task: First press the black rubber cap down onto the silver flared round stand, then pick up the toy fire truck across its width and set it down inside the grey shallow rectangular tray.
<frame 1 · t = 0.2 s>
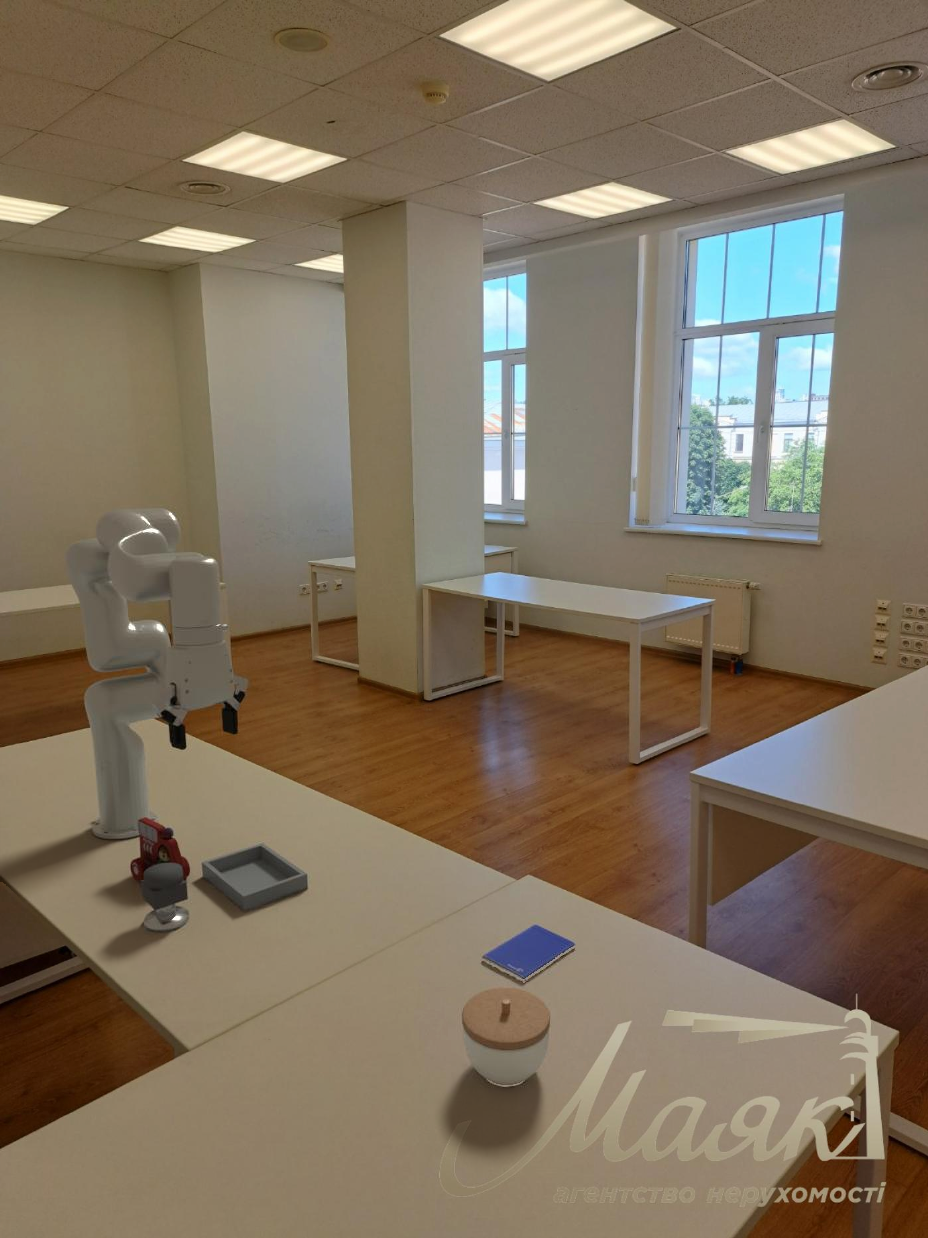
hand: (205, 740, 137), 30 cm above the table, tool pointing down, fingers open, 9 cm apart
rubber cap: (164, 884, 139), point 6 cm above the table, slide at 0.0 cm
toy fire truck: (161, 880, 155), on the table
silver flared round stand: (166, 921, 140), on the table
hard drive: (529, 959, 130), on the table
lidded jar: (505, 1071, 105), on the table
grey shallow rectangular tray: (254, 882, 153), on the table
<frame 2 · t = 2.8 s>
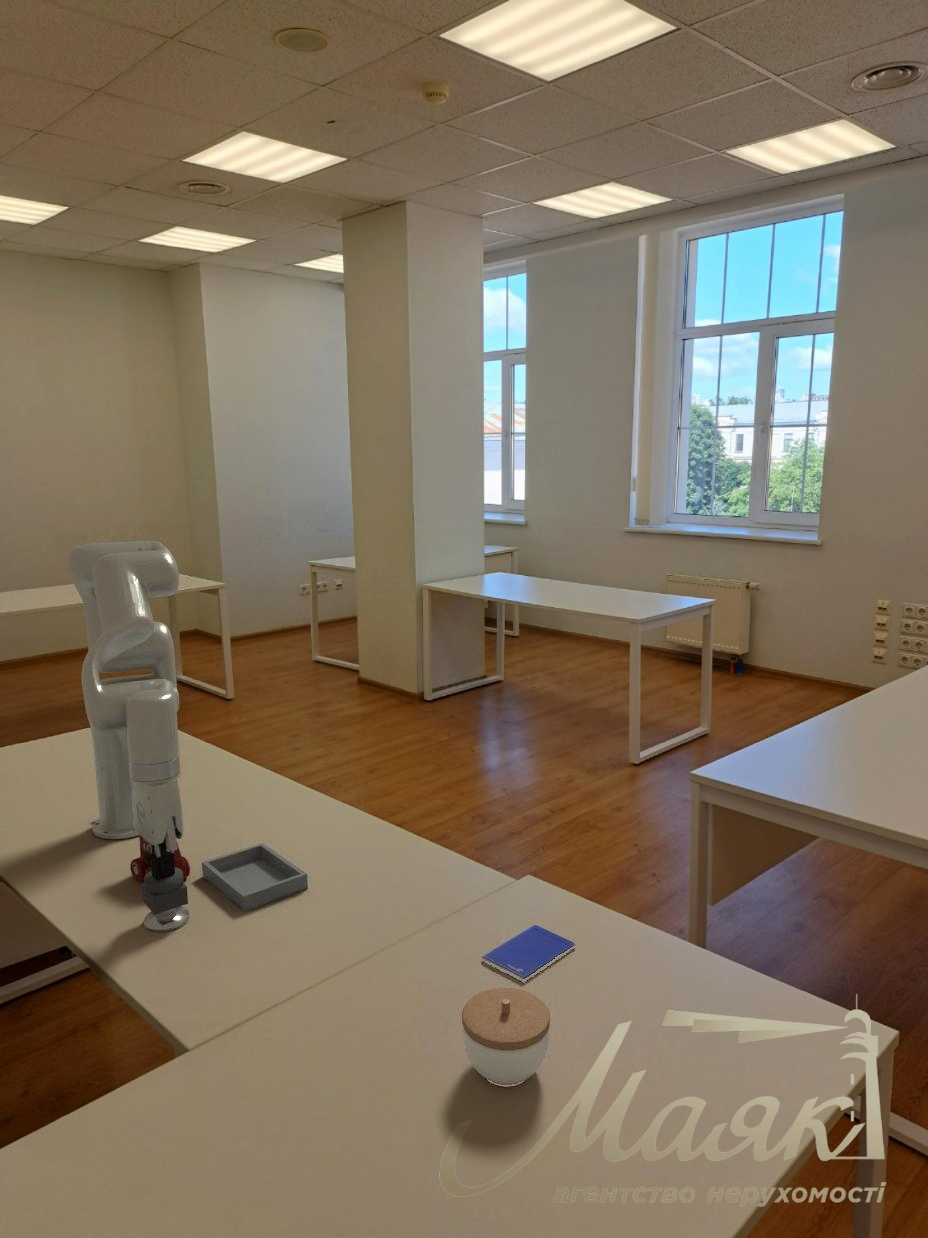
hand: (163, 875, 139), 8 cm above the table, tool pointing down, fingers closed
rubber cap: (164, 889, 139), point 6 cm above the table, slide at 0.8 cm, touching gripper
everything else where it was.
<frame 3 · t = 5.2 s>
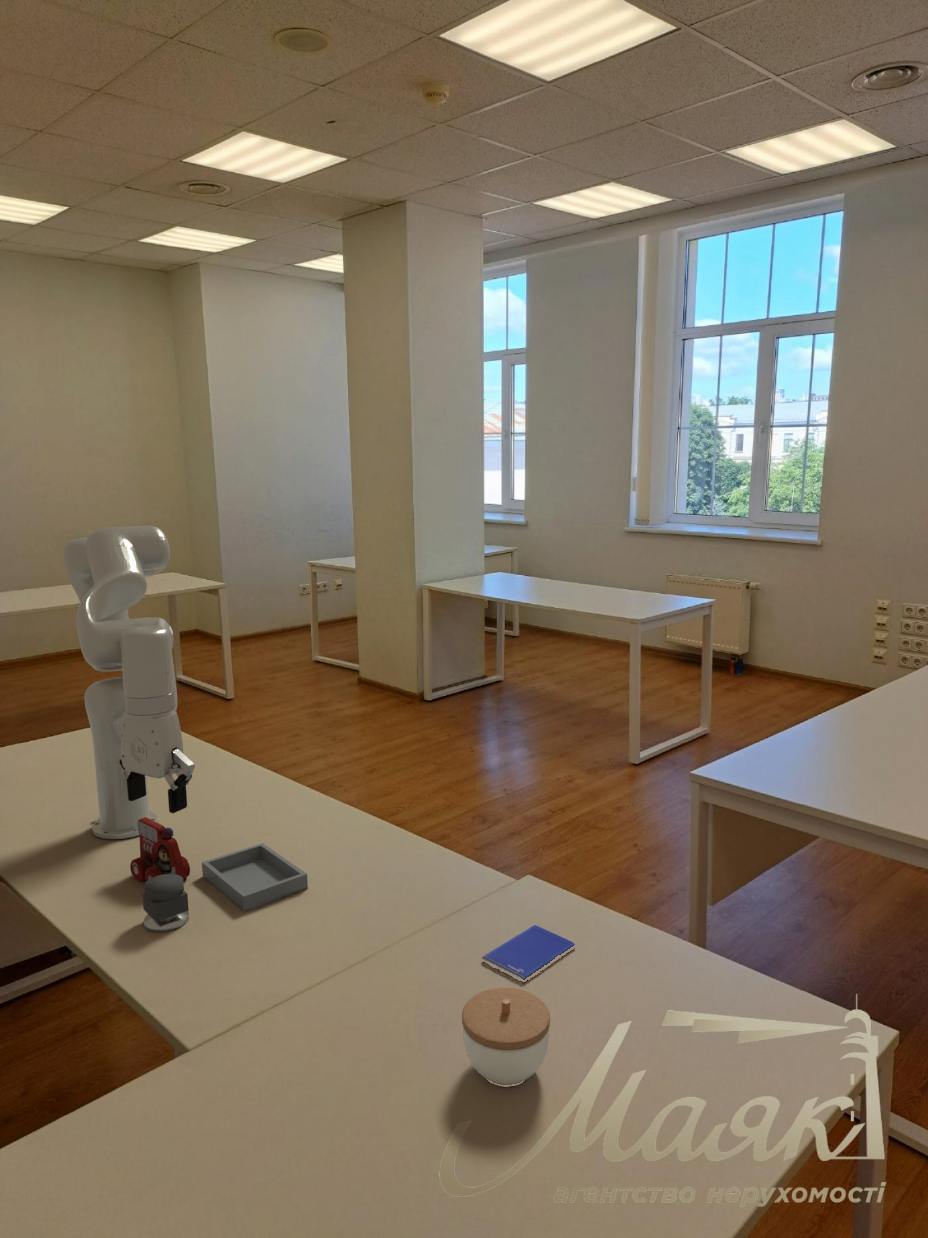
hand: (157, 804, 140), 19 cm above the table, tool pointing down, fingers open, 9 cm apart
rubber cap: (164, 896, 139), point 4 cm above the table, slide at 2.0 cm
everything else where it was.
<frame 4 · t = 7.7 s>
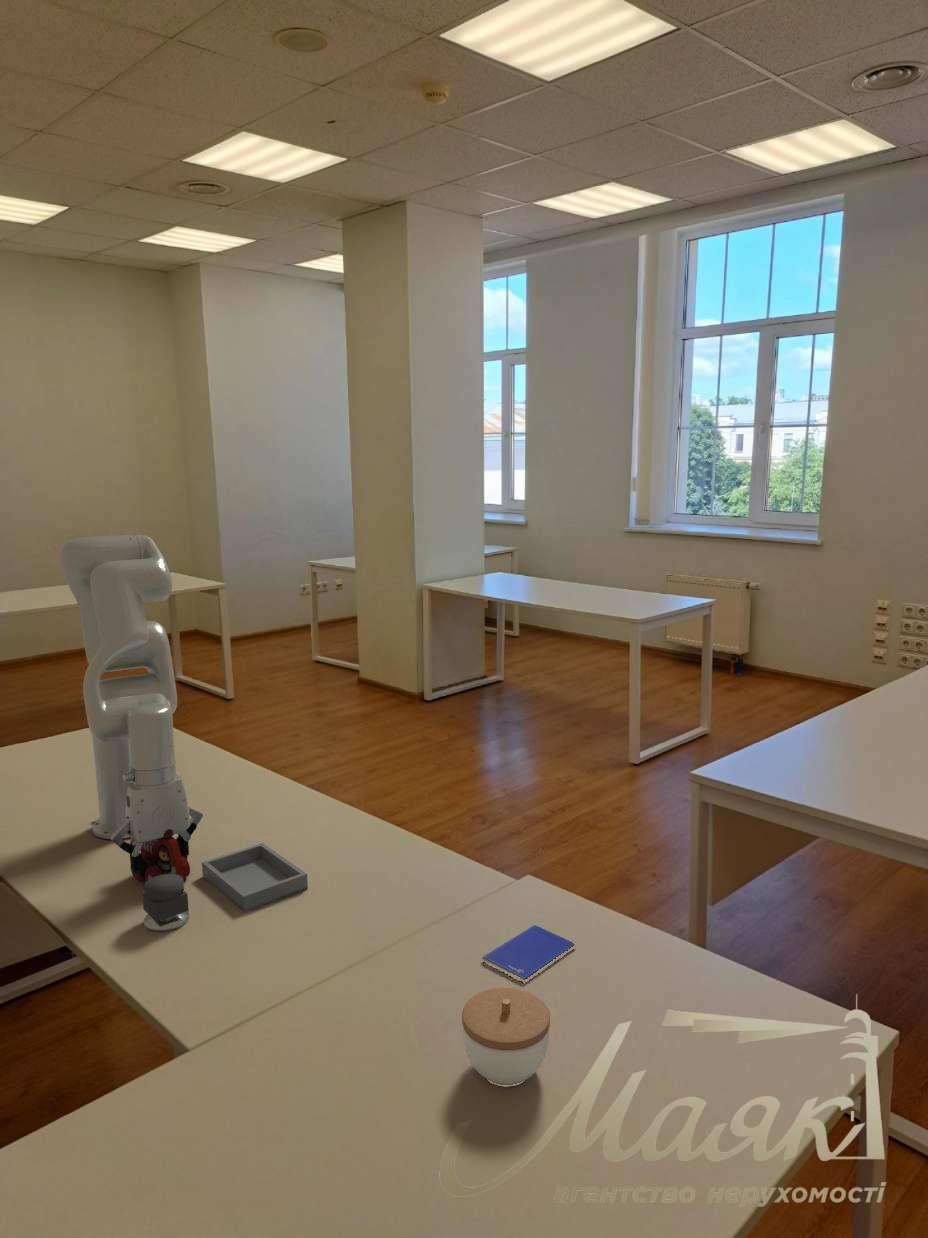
hand: (160, 866, 154), 2 cm above the table, tool pointing down, fingers closed on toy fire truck, 7 cm apart
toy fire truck: (161, 879, 155), on the table, touching gripper
everything else where it was.
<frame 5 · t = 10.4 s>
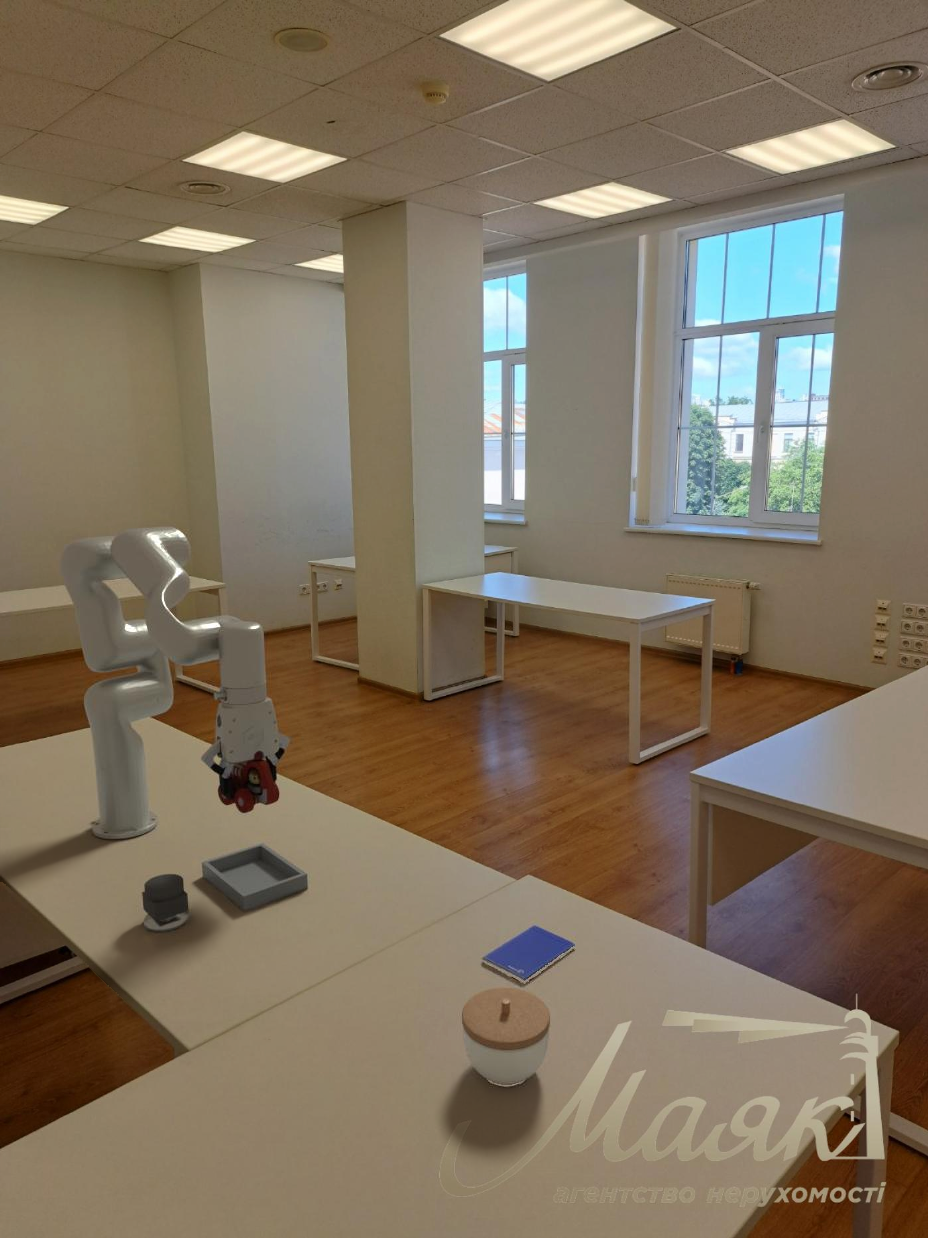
hand: (249, 790, 150), 17 cm above the table, tool pointing down, fingers closed on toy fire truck, 7 cm apart
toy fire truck: (250, 804, 150), point 15 cm above the table, touching gripper
everything else where it was.
when the fingers open (4 cm above the table, at t = 13.2 s): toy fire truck drops 2 cm, resting on grey shallow rectangular tray.
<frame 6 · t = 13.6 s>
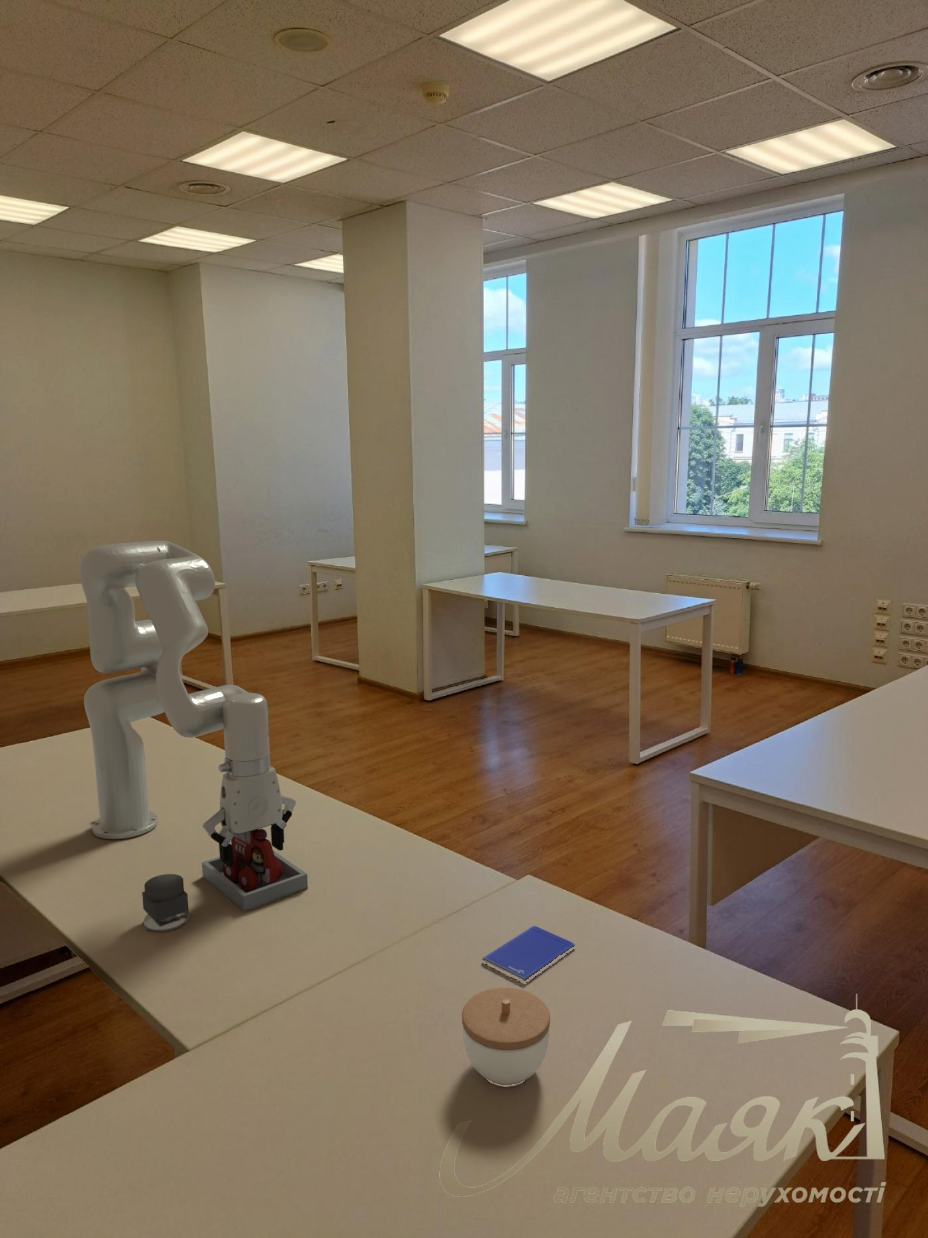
hand: (253, 856, 152), 5 cm above the table, tool pointing down, fingers open, 9 cm apart
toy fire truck: (253, 881, 153), resting on grey shallow rectangular tray
everything else where it was.
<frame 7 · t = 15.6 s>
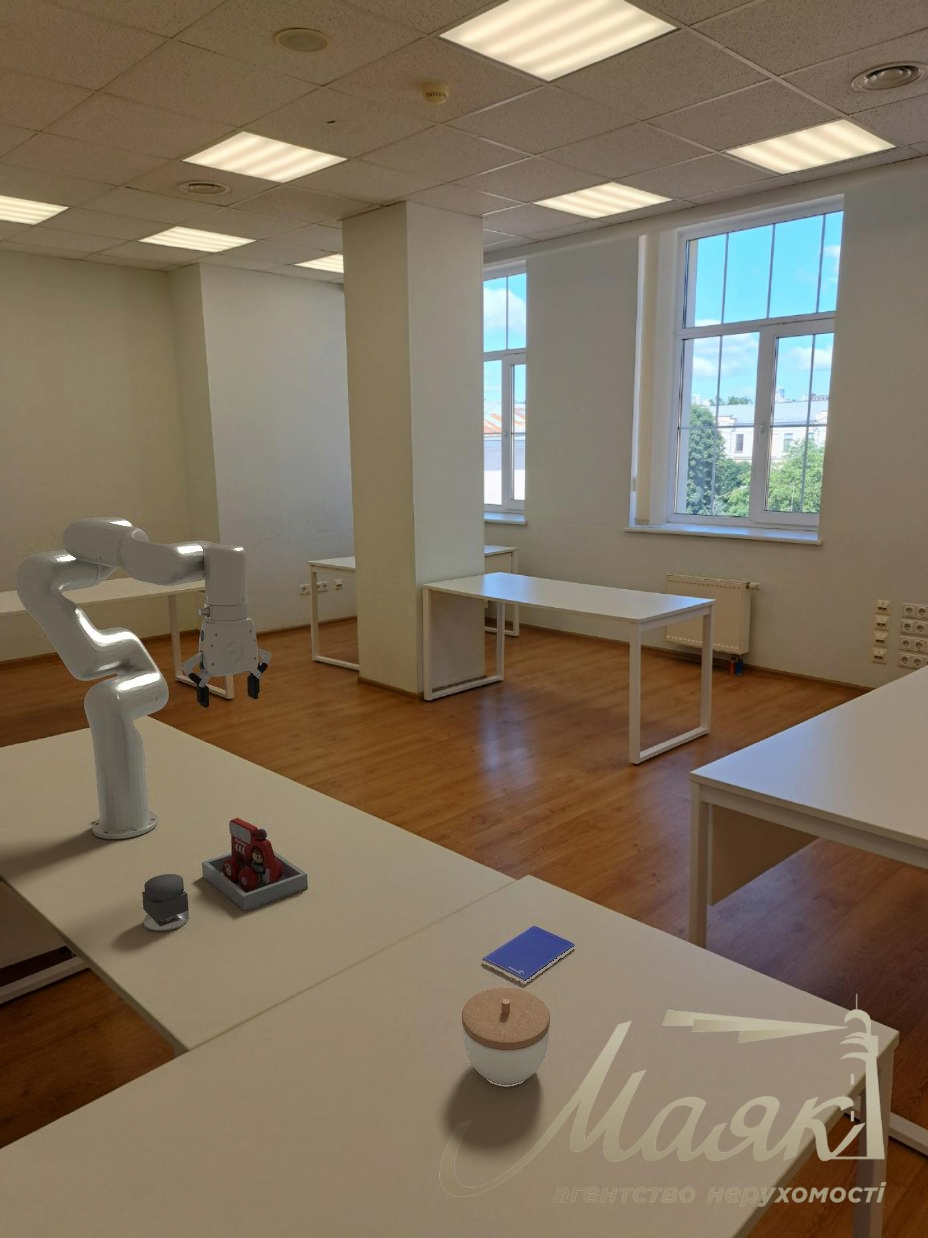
hand: (229, 701, 160), 30 cm above the table, tool pointing down, fingers open, 9 cm apart
nothing on the table moved.
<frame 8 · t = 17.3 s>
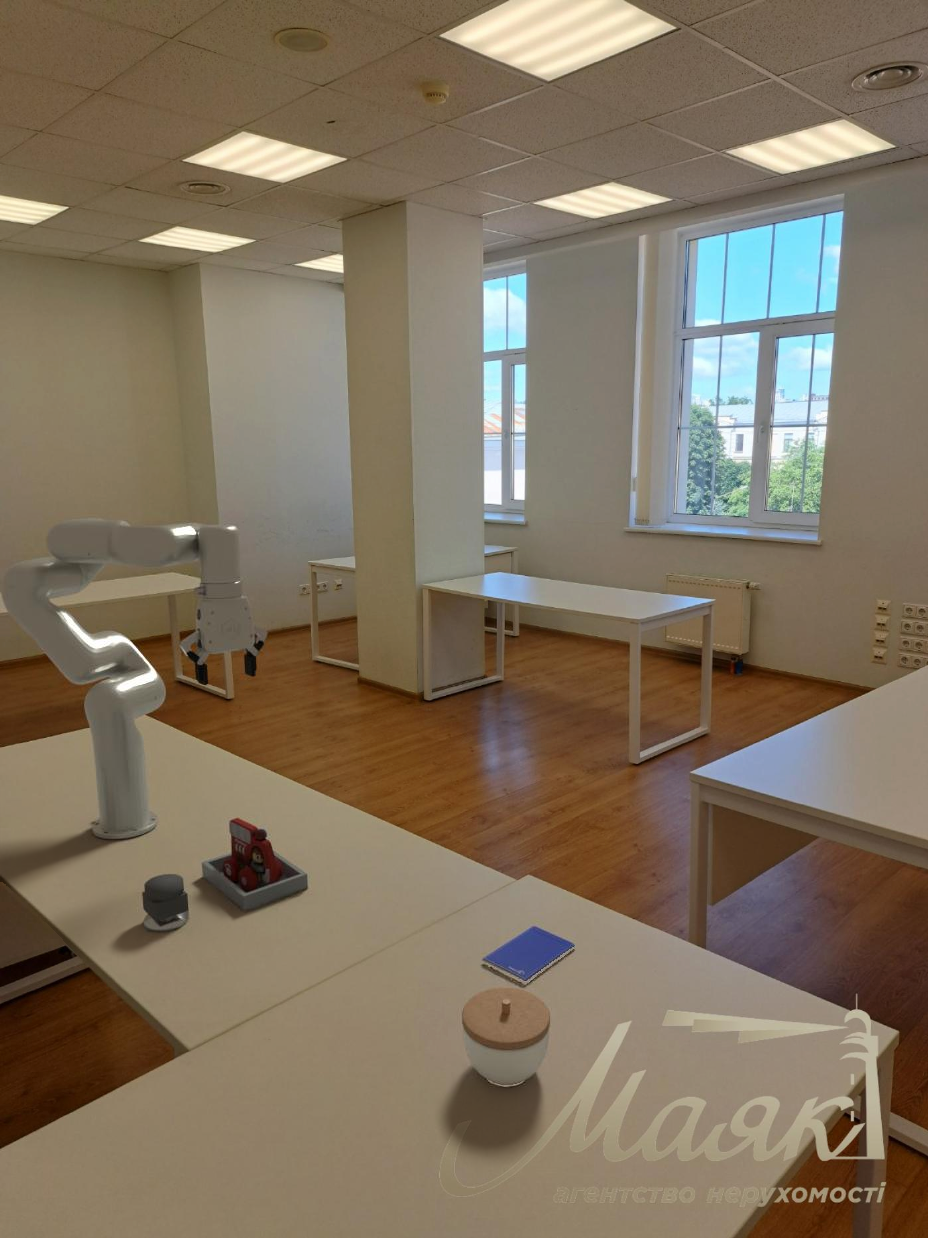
hand: (227, 679, 163), 33 cm above the table, tool pointing down, fingers open, 9 cm apart
nothing on the table moved.
at the end: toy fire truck inside the target area on the grey shallow rectangular tray (0.2 cm from its centre), point 0.1 cm above the grey shallow rectangular tray's base; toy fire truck tilted 0°; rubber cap slide at 2.0 cm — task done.
